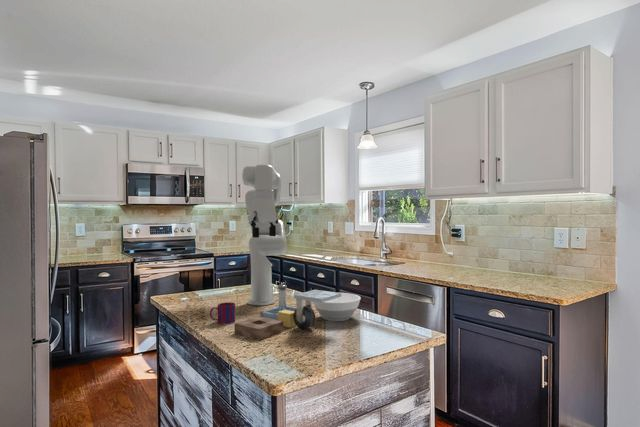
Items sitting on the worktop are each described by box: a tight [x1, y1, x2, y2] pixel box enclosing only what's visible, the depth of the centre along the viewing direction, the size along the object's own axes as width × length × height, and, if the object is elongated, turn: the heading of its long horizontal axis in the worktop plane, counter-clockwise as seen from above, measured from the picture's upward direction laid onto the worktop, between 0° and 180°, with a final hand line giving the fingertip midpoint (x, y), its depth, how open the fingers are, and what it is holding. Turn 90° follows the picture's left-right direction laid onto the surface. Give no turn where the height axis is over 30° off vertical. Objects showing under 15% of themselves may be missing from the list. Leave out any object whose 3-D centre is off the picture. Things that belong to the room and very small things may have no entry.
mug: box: [209, 301, 236, 325], centre depth 157 cm, size 7×10×7 cm
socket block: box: [234, 316, 284, 340], centre depth 143 cm, size 12×12×4 cm
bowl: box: [312, 292, 362, 322], centre depth 162 cm, size 19×19×8 cm
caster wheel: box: [293, 289, 342, 331], centre depth 146 cm, size 12×16×13 cm
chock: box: [278, 310, 296, 328], centre depth 153 cm, size 4×6×5 cm, turn 53°
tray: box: [260, 305, 296, 320], centre depth 165 cm, size 14×11×2 cm
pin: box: [277, 284, 288, 311], centre depth 165 cm, size 4×4×12 cm
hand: (264, 236), depth 167 cm, fingers open, 9 cm apart
